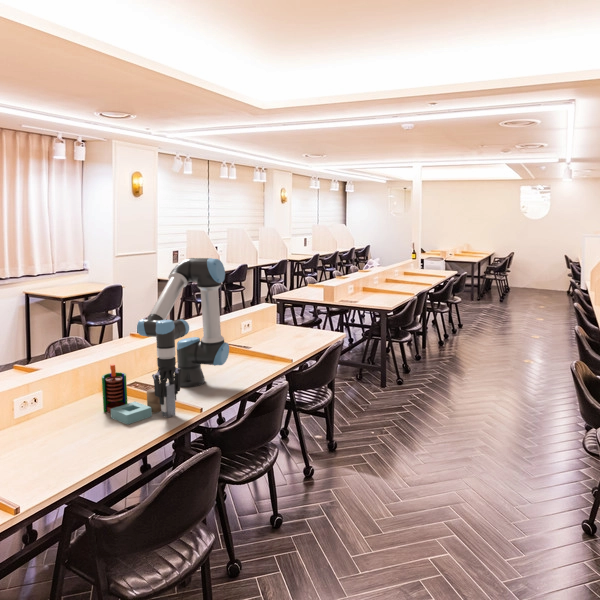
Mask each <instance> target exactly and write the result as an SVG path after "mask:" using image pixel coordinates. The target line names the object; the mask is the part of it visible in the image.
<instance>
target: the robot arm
mask: <svg viewBox="0 0 600 600" xmlns="http://www.w3.org/2000/svg"><path fill="white" fill-rule="evenodd" d="M225 278H226V270H225V265H224V264H223V262H222V261H221V260H220V259H218V258H214V257H213V258H212V257H196V258H195V257H190V258H186V259H184V260H181V261H180V262H179V263H178V264H176V265H175V267H173V269H171V272H170V273H169V275H168V280H167V282H166V284H165V285H164V288H163V290H162V291H161V293H160V295H159V297H158V298H157V300H156V302H155V304H154V305H153V307H152V309H151V311H150V312H149V315H148V316H147V317H146V318H141V319H140V320H138V322H137V325H136V331H137V333H138V335H139V336H142V337H146V338H147V337H148V338H149V337H150V338H151V337H153V338H154V337H155V338H156V340H155V341H156V356H157V358H156V362H157V363H156V364H157V371H156V373H153V374H152V375H151V377H152V379H153V386H154V387H153V389H155V396H157V397H159V399H160V404H161V411H160V412H162V411H163V412H167V409H166V397H164V396H165V386H166V383H168V382H169V383H172V384H174V390H175V402H176V401H177V395H178V394H179V392H180V391H181V388H186V387H187V388H191V387H198V386H202V385H204V383H205V380H206V379H205V375H204V373H203V370H202V366H201V365H205V366H206V365H208V366H223V365H224V364H225V363H226V362H227V360H228V357H229V354H230V345H229V343H228V342H225V337H224V336H223V335H222V329H221V315H220V298H219V297H220V296H219V289H220V288H221V286H222V283H224V281H225ZM191 282H193V283H196V287H197V288H198V289H199V290H200V302H201V315H202V316H201V318H202V329H203V330H202V331H203V336H202V338H200V337H199V336H198V337H196V336H192V337H187V338H184V337H185V336H186V335H188V333H189V332H190V324H189V323H188V322H187V320H185V319H182V318H181V319H177V320H172V319H167V318H168V316H169V314H170V313H171V311H172V309H173V307H174V305H175V303H176V302H177V299H178V298H179V296H180V295H181V292H182V290H183V289H184V288H185V287H187V286H188V284H189V283H191ZM181 338H183V339H181ZM178 339H180V340H178ZM176 340H178V341H177V343H176ZM176 355H177V357H176ZM176 358H177V359H176ZM176 360H177V361H176ZM176 363H177V364H176ZM176 365H177V367H176ZM176 407H177V406H176V405H175V410H176Z"/></svg>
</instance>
